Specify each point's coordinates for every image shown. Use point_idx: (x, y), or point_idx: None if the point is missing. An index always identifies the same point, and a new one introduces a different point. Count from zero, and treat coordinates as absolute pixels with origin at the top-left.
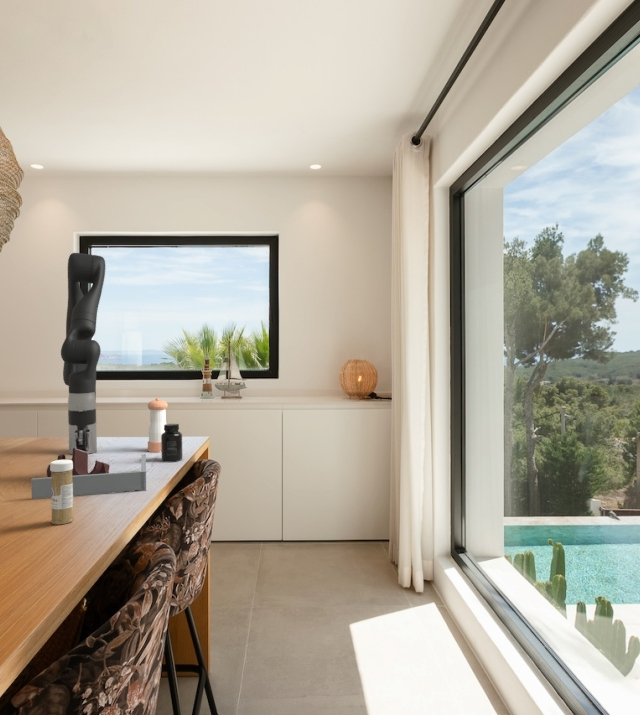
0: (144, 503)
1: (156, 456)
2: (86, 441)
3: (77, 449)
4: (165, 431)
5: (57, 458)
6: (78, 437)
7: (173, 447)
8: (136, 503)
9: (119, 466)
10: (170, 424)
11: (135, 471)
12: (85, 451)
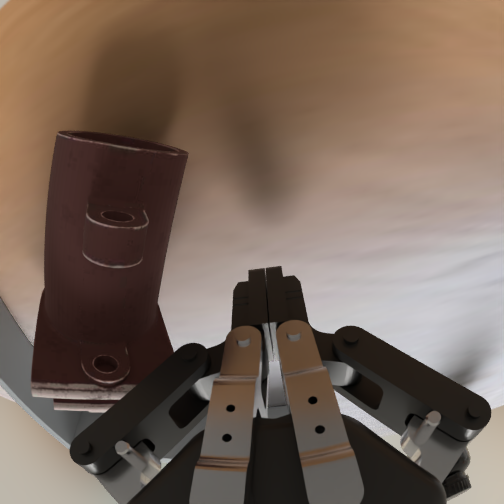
0: (8, 397)
1: (489, 374)
2: (374, 409)
3: (60, 397)
4: (446, 480)
5: (86, 212)
6: (155, 477)
7: (408, 457)
8: (2, 389)
9: (423, 332)
10: (453, 496)
11: (62, 439)
12: (186, 393)
